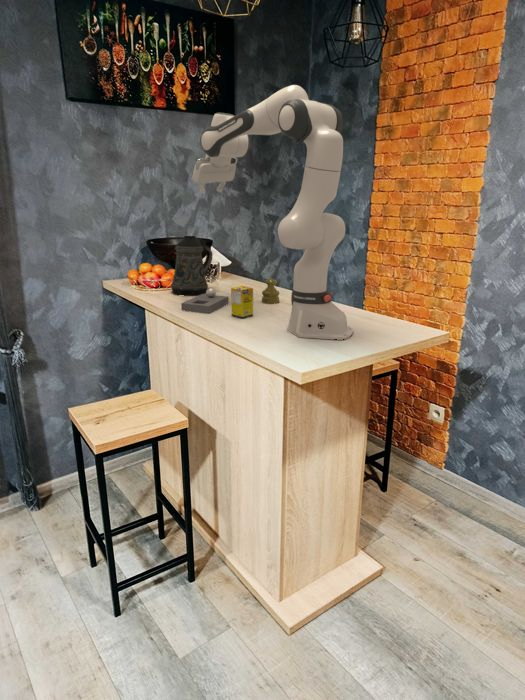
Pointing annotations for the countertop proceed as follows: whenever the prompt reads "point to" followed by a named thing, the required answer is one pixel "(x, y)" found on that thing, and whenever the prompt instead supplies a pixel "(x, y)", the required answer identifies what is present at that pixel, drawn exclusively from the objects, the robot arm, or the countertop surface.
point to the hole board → (205, 303)
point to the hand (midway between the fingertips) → (210, 192)
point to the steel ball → (211, 292)
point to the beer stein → (191, 267)
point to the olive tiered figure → (270, 292)
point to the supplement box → (242, 302)
